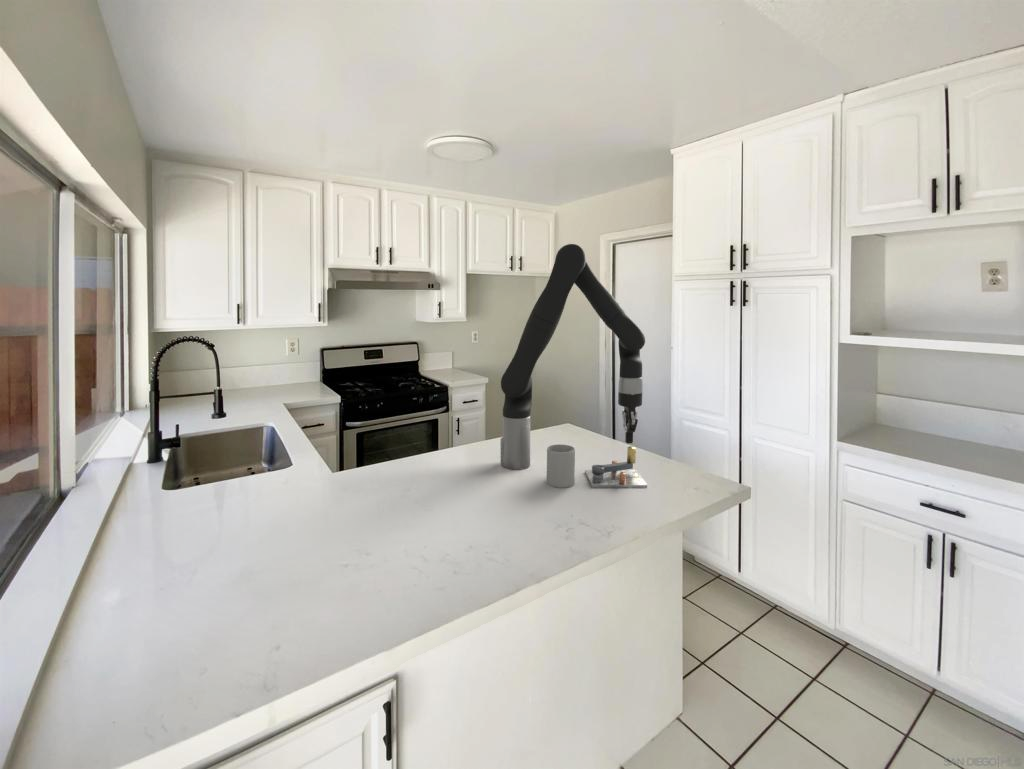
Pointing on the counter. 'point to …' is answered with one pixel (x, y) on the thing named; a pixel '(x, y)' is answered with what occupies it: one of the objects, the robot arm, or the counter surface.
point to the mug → (560, 466)
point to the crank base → (615, 479)
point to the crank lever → (617, 464)
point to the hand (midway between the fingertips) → (628, 442)
